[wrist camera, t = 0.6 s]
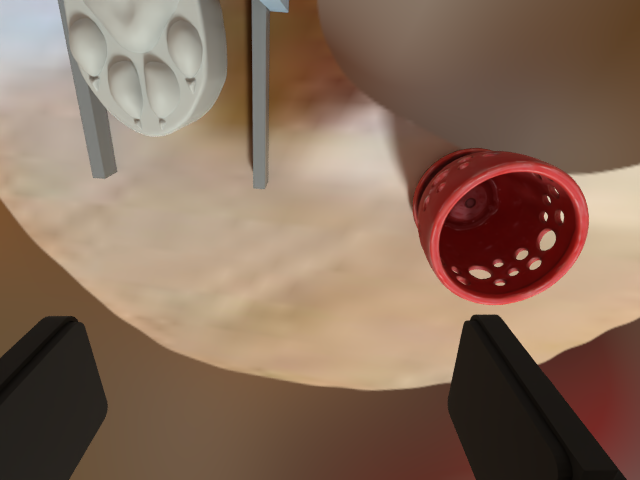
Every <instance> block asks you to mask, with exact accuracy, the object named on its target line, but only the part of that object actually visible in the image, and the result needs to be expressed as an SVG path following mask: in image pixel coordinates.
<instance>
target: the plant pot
mask: <svg viewBox="0 0 640 480" xmlns="http://www.w3.org/2000/svg"><path fill="white" fill-rule="evenodd" d="M554 188H555V189H556V190H557V192H558V193H559V194H558V193H557V192H556V191H555V189H554ZM547 195H548V196H549V197H550V200H551V203H550V202H549V201H548V198H547ZM561 211H562V212H563V213H564V221H563V223H562V221H561V217H560V213H561ZM545 212H546V213H547V214H548V219H547V221H545V219H544V213H545ZM413 216H414V220H415V223H416V226H417V228H418V232H419V238H420V242H421V246H422V248H423V250H424V253H425V255H426V258H427V260H428V262H429V264H430V266H431V268H432V269H433V271H434V273H435V274H436V276H437V277H438V279H439V280H440V281H441V283H442V284H443V285H444V286H445V287H446V288H447V289H449V290H450V291H451V292H452V293H454V294H456V295H457V296H459V297H461V298H463V299H466V300H469V301H472V302H475V303H479V304H486V305H503V304H509V303H514V302H518V301H521V300H524V299H527V298H530V297H532V296H534V295H536V294H539V293H541V292H542V291H544V290H546V289H547V288H549V287H550V286H552V285H553V284H555V283H556V282H557V281H558V280H559V279H560V278H561V277H563V276H564V275H565V274H566V273H567V271H568V270H569V269H570V268H571V267H572V265H573V264H574V263H575V261H576V260H577V258H578V256H579V255H580V253H581V251H582V249H583V246H584V244H585V241H586V237H587V233H588V225H589V214H588V208H587V203H586V200H585V197H584V195H583V193H582V191H581V189H580V187H579V186H578V185H577V183H576V182H575V181H574V180H573V179H572V177H570V176H569V175H568V174H567V173H565V172H564V171H562V170H561V169H559V168H557V167H555V166H553V165H551V164H548V163H546V162H544V161H541V160H539V159H536V158H533V157H529V156H526V155H522V154H517V153H512V152H504V151H491V150H488V149H482V148H472V149H471V148H470V149H463V150H459V151H456V152H453V153H450V154H448V155H446V156H444V157H443V158H441V159H440V160H438V161H437V162H436V163H434V164H433V165H432V166H431V167H430V168H429V169H428V170H427V171H426V172H425V174H424V175H423V176H422V178H421V179H420V181H419V183H418V185H417V187H416V190H415V193H414V198H413ZM551 230H552V231H554V233H555V235H556V242H555V244H554V245H553V247H552V248H550V249H548V250H546V251H542V250H541V249H540V241H541V239H542V237H543V236H544V234H545V233H547V232H548V231H551ZM523 250H527V251H528V255H527V257H526V258H524V259H522V260H517V259H516V256H517V255H518V253H519V252H521V251H523ZM537 260H541V261H542V262H541V265H540V266H539V267H538V268H537V269H534V270H530V269H529V267H530V265H531V264H532V263H533V262H535V261H537ZM496 263H504V264H503V265H502V266H501V267H495V266H494V264H496ZM474 269H480V270H485V271H487V272H489V273H490V274H491V277H490V278H487V279H478V278H476V277H474V276H472V275H471V274H470V273H469V271H470V270H474ZM454 271H455V272H457V273H455V272H454ZM513 271H519V273H518V274H517V275H515V276H510V275H509V274H510V273H511V272H513ZM461 282H462V283H461ZM500 282H501V283H505V285H503V286H497V285H495V284H496V283H500ZM463 283H464V284H463Z"/></svg>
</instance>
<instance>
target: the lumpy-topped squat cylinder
mask: <svg viewBox="0 0 640 480" xmlns="http://www.w3.org/2000/svg"><path fill="white" fill-rule="evenodd" d="M64 7H65V13H66V21H67V26H68V31H69V45H70V50H71V53H72V55H73V57H74V59H75V60H76V61H77V63H78V66H79V69H80V71H81V74H82V76H83V78H84V79H85V81H86V82H87V84H88V85H89V87H90V88H91V90H92V91H93V92H94V94H95V95H96V96H97V98H98V99H99V100H100V102H101V103H102V104H103V105H104V107H105V108H106V109H107V110H108V111H109V112H110V113H111V114H112V115H113V116H114V117H115V118H116V119H118V120H119V121H120V122H121V123H123V124H124V125H126V126H127V127H129V128H131V129H132V130H134V131H136V132H138V133H140V134H143V135H146V136H152V137H159V136H165V135H168V134H171V133H173V132H175V131H177V130H179V129H181V128H183V127H185V126H187V125H189V124H191V123H193V122H195V121H196V120H198V119H200V118H201V117H202V116H204V115H205V114H206V113H207V112H208V111H209V110H210V109H211V108H212V106H213V105H214V103H215V101H216V100H217V98H218V96H219V94H220V92H221V89H222V87H223V85H224V82H225V79H226V75H227V46H226V35H225V28H224V22H223V16H222V10H221V6H220V2H219V0H64Z"/></svg>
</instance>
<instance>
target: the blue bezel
mask: <svg viewBox="0 0 640 480" xmlns="http://www.w3.org/2000/svg"><path fill="white" fill-rule="evenodd" d="M260 1H261V2H262V3H263V4H264V5H265V6H266V7H267V8H268V9H269V10H270V11H276V12H288V9H289V0H260Z"/></svg>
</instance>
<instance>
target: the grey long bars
mask: <svg viewBox="0 0 640 480" xmlns="http://www.w3.org/2000/svg"><path fill="white" fill-rule="evenodd" d="M58 4H59V9H60V14H61V19H62V24H63V29H64V34H65V39H66V44H67V49H68V54H69V59H70V64H71V69H72V74H73V79H74V84H75V89H76V94H77V99H78V104H79V109H80V114H81V119H82V124H83V130H84V135H85V140H86V145H87V150H88V155H89V160H90V165H91V170H92V175H93V178H103V179H105V178H107V177H109V176H111V175H112V174H114V173H116V172H117V169H116V163H115V157H114V151H113V145H112V139H111V133H110V127H109V121H108V116H107V110H106V108H105V107H104V105H103V104H102V103H101V102H100V100H99V99H98V98H97V96H96V95H95V94H94V92H93V91H92V90H91V88H90V87H89V85H88V84H87V82H86V81H85V79H84V78H83V76H82V74H81V71H80V69H79V66H78V63H77V61H76V60H75V59H74V57H73V55H72V53H71V50H70V45H69V31H68V26H67V21H66V13H65V7H64V0H58ZM269 22H270V10H269V9H268V8H267V7H266V6H265V5H264V4H263V3H262V2H261V1H260V0H252V89H253V188H256V189H265V188H266V186H267V183H268V133H269Z"/></svg>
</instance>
